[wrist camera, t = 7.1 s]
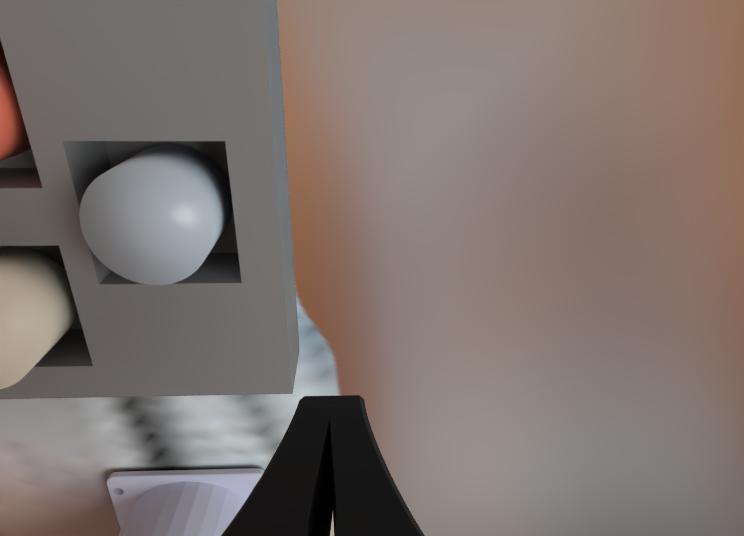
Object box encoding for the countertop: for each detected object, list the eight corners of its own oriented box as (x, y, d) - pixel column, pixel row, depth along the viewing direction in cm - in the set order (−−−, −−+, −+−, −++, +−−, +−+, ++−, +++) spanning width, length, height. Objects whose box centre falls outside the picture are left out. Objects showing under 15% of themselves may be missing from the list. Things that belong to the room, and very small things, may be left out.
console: (299, 350, 23) (292, 393, 20) (-17, 355, 22) (-68, 400, 19) (274, -32, 16) (258, -45, 14) (-172, -39, 16) (-281, -53, 13)
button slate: (238, 247, 19) (218, 284, 16) (134, 247, 19) (95, 285, 16) (226, 143, 18) (201, 165, 15) (111, 143, 18) (64, 165, 15)
